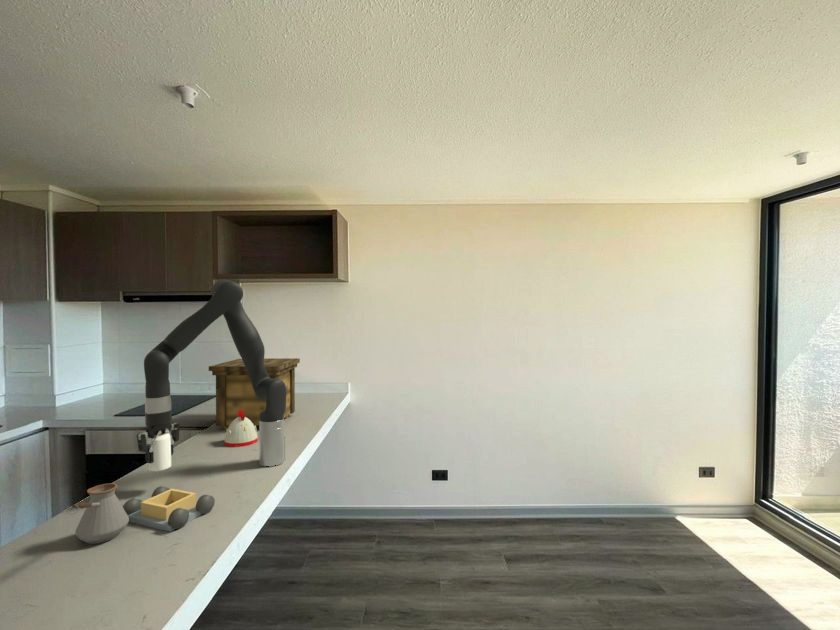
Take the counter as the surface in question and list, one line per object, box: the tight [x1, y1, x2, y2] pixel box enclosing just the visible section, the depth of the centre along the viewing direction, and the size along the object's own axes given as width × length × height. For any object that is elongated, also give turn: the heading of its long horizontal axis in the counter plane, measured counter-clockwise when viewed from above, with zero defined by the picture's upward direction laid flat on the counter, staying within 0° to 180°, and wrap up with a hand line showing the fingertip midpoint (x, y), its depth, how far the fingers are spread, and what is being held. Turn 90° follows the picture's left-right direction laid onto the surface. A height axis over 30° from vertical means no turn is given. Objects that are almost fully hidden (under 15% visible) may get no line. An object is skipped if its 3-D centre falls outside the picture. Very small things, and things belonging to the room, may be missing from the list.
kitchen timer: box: [224, 409, 259, 448], centre depth 193 cm, size 14×14×15 cm
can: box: [148, 432, 172, 473], centre depth 141 cm, size 6×6×12 cm
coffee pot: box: [66, 483, 130, 545], centre depth 107 cm, size 21×12×15 cm, turn 16°
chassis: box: [122, 485, 216, 532], centre depth 124 cm, size 14×20×5 cm
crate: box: [208, 357, 301, 430], centre depth 227 cm, size 35×35×33 cm
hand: (159, 459), depth 141 cm, fingers closed on can, 6 cm apart
